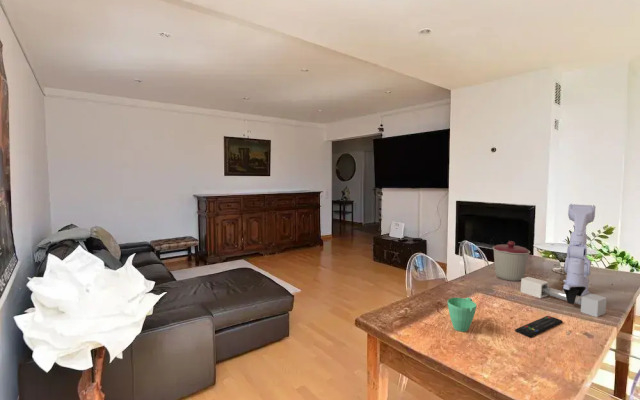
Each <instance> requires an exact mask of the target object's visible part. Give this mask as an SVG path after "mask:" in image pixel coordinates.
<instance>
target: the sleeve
mask: <svg viewBox="0 0 640 400" xmlns="http://www.w3.org/2000/svg"><path fill="white" fill-rule="evenodd" d="M542 286H546V287H549V281H546V280H543V279H539V278H534V277H531V276H527V277H525V276H524V277H523V278H522V279H521V280H520V293H522V294H525V295H529V296H533V297H535V298H537V299H538V298H539V299H542V298H546V297H548V295H546V294H543V293H542Z"/></svg>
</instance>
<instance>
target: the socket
mask: <svg viewBox="0 0 640 400" xmlns="http://www.w3.org/2000/svg"><path fill="white" fill-rule="evenodd" d="M581 297H582V301H581V305H580V312H581V313H583V314H586V315H589V316H592V317H595V318H598V317H601V316H602V315H605V314H606V311H607V310H606V309H607V299H608V298H607V297H606V296H601V295H599V294H594V293H591V292H590V293H588V294H586V295H583V296H581Z"/></svg>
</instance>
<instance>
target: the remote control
mask: <svg viewBox="0 0 640 400" xmlns="http://www.w3.org/2000/svg"><path fill="white" fill-rule="evenodd" d="M560 324H563V320H562V319H559V318H556V317H553V316H550V315H545V316H543V317H541V318H539V319H536V320H533V321H532V322H529V323H526V324H525V325H522V326H520V327H518V328H515V329H514V331H515V333H517V334H520V335H523V336H525V337H527V338H533V337H535V336H537V335H539V334H542V333H544V332H545V331H548V330H550V329H553V328H554V327H556V326H559V325H560Z"/></svg>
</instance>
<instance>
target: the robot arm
mask: <svg viewBox="0 0 640 400" xmlns="http://www.w3.org/2000/svg"><path fill="white" fill-rule="evenodd" d="M596 207H597V206H596V205H595V204H593V205H591V204H573V203H570V204H568V211H567V215H568V216H567V217H568V219H569V220H570V221H572V222H573V223H574V224H573V225H574V228H573V229H574V231H572V232H571V233H570V236H569V244H568V245H567V249H566V250H567V251H566V257H565V262H564V267H563V269H564V272H565V273H566V279H563V282H564V284H563V286H562V291H564V292H565V294H566V298H567V301H566V302H567V303H568V304H570V305H574V304H575V303H574V302H575V298H576V295H578V296H581V297H582V296H585V295H587V294H590V293H591V291H589V283H590V281H589V276H590V275H591V268H592V266H591V265H592V261H591V259H589V258H588V257H587V254H588V248H587V239H588V234H587V227H588V226H587V225H588V224H589V223H592V222H594V220H595V217H596Z"/></svg>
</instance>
